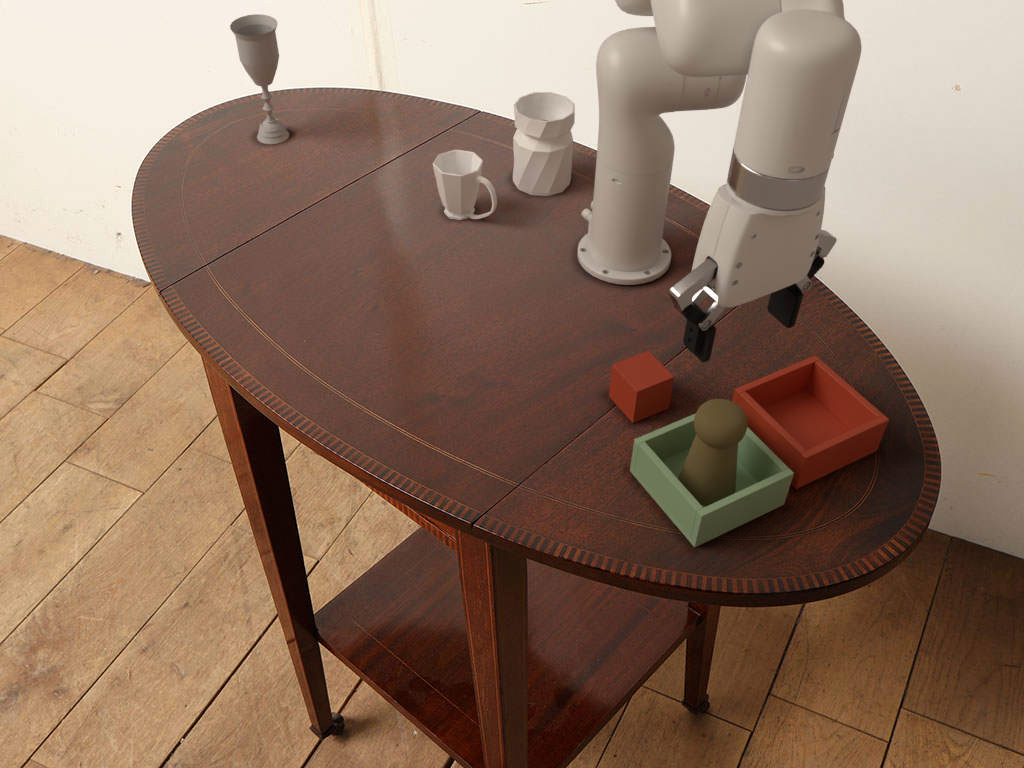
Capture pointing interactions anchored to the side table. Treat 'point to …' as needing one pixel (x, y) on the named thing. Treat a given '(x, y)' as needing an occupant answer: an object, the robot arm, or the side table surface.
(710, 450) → the olive brown pawn
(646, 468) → the sage bin
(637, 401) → the rust block
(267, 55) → the chalice
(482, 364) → the side table surface
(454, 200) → the cup
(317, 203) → the side table surface
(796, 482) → the rust bin
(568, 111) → the vase
